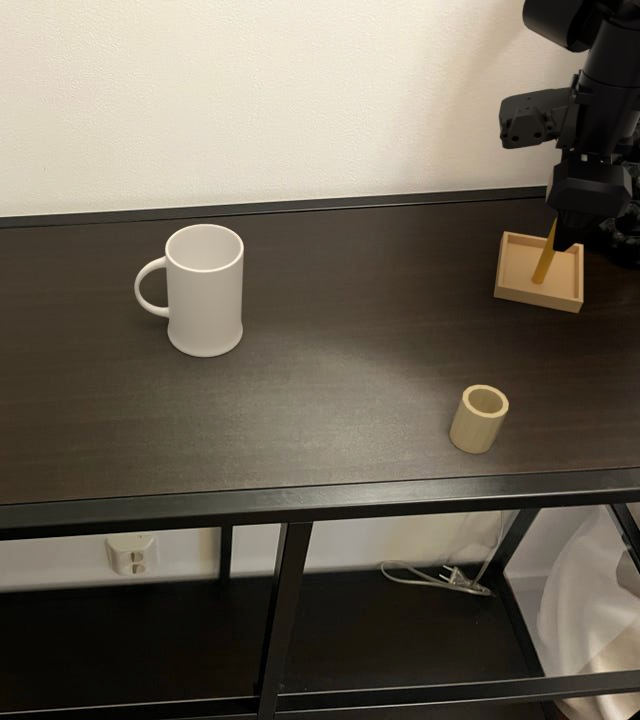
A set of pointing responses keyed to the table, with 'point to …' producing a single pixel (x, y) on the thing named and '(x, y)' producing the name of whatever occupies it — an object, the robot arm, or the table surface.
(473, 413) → the pencil cup
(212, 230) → the mug
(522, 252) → the tray
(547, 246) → the pencil
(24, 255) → the table surface
